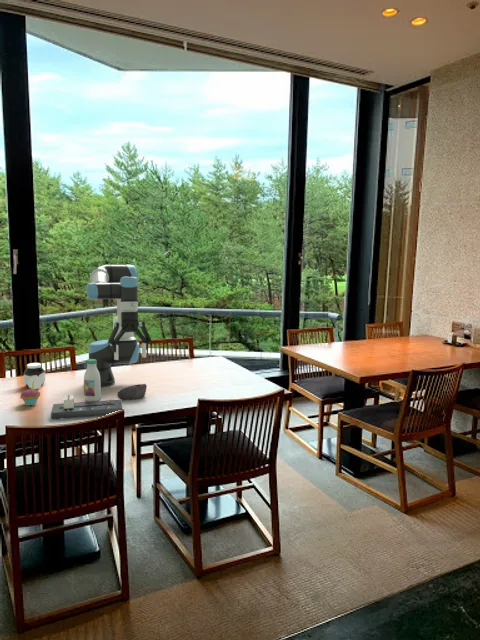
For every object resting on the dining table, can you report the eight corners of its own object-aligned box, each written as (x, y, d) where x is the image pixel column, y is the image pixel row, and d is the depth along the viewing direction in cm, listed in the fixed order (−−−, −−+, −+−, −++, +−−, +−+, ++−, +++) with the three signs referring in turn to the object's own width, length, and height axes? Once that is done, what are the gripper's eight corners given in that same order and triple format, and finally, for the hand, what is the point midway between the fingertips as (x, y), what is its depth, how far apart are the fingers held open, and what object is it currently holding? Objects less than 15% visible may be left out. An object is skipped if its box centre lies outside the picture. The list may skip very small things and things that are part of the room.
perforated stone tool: (118, 402, 232) (118, 388, 231) (116, 399, 237) (116, 385, 236) (148, 398, 239) (148, 385, 237) (146, 395, 243) (146, 382, 242)
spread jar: (38, 382, 261) (37, 361, 259) (52, 385, 255) (51, 364, 254) (18, 387, 251) (17, 366, 249) (32, 391, 245) (31, 369, 243)
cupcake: (43, 401, 230) (42, 377, 229) (36, 407, 222) (35, 382, 220) (25, 401, 230) (23, 377, 228) (17, 407, 222) (16, 382, 220)
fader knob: (64, 404, 217) (64, 395, 216) (73, 403, 218) (73, 394, 217) (63, 408, 211) (63, 399, 211) (73, 408, 212) (73, 398, 212)
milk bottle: (94, 395, 240) (93, 357, 237) (104, 399, 236) (103, 359, 232) (81, 399, 234) (80, 359, 231) (90, 403, 230) (89, 362, 227)
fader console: (53, 410, 219) (53, 403, 218) (121, 405, 227) (121, 399, 227) (51, 419, 207) (51, 412, 207) (122, 414, 216) (122, 407, 216)
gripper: (106, 311, 204) (107, 361, 205) (158, 310, 220) (159, 357, 221) (99, 311, 210) (100, 360, 211) (150, 311, 226) (151, 356, 226)
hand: (130, 358), depth 216 cm, fingers open, 13 cm apart
